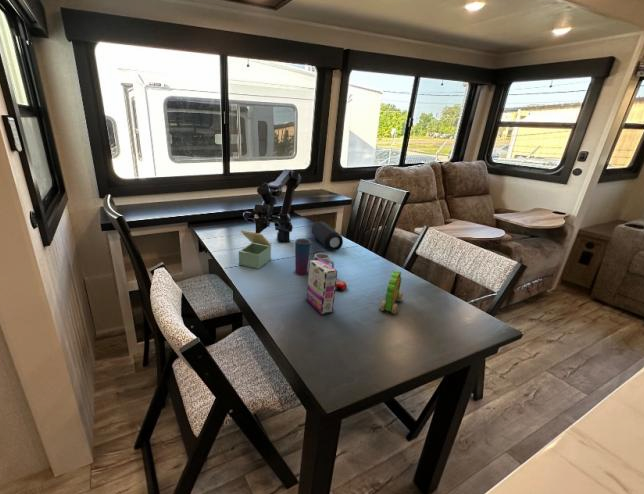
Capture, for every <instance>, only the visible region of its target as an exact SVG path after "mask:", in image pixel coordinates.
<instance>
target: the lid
mask: <svg viewBox="0 0 644 494" xmlns="http://www.w3.org/2000/svg"><path fill="white" fill-rule="evenodd" d="M240 233H241V234H242V235H243V236H244V238H246V239H247V240H248V241H249V242H250V243H256V244H261V245H266V246H271V247H272V244H271V243H270V242H269V240H268V239H267V238H266V237H265V236H264V234H262V233H260V234H258V233H256V232H252V231H247V230H240Z"/></svg>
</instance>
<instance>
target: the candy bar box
mask: <svg viewBox="0 0 644 494" xmlns="http://www.w3.org/2000/svg"><path fill="white" fill-rule="evenodd" d="M337 277H338V270H337V269H335V267H334V268H333V267H332V265H330V264H329V265H328V264H327V263H325V262H324V261H323V260H321V259H318V260H314V259H312V260H309V263H308V277H307V278H308V279H307V289H306V290H307V292H306V301H307V302H309V304H311V306H312V307H313V308H314V309H316V311H318V312H319V313H320V315H325V314H329V313H333V311H334V302H335V295H336V289H335V287H336V279H338V278H337Z"/></svg>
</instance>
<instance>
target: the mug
mask: <svg viewBox="0 0 644 494" xmlns="http://www.w3.org/2000/svg"><path fill="white" fill-rule="evenodd" d="M318 259H321V260H323V261H324V262H325V263H327V264H328V265H330V264H331V267H333V268H334V269H335V262H334V261H333V260H332V259H330V255H329V254H327V253H324V252H318V253H315V254H314V257H313V260H318Z"/></svg>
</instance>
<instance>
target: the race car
mask: <svg viewBox="0 0 644 494" xmlns="http://www.w3.org/2000/svg"><path fill="white" fill-rule="evenodd" d="M346 289H348V285H347V283H346V282H345V281H344V280H341V279H338V278H337V279H336V287H335V290H337V291H338V292H341V291H345V290H346Z"/></svg>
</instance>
